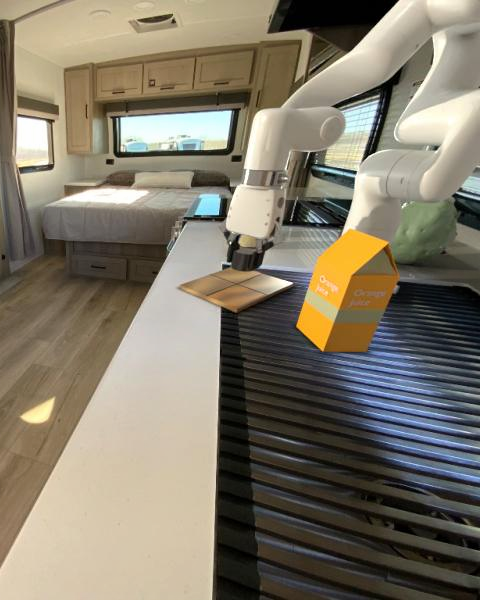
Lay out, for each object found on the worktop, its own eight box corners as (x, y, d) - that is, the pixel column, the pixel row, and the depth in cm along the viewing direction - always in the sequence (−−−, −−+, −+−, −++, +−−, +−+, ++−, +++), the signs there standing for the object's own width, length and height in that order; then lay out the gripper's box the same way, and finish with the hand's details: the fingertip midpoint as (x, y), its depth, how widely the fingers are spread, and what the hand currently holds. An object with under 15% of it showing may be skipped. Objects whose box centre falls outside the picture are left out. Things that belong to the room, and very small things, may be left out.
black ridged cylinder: (258, 268, 74) (262, 251, 72) (245, 273, 71) (249, 255, 70) (238, 262, 77) (242, 246, 76) (225, 267, 75) (229, 250, 73)
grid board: (292, 286, 84) (293, 282, 83) (236, 312, 72) (237, 308, 72) (235, 268, 96) (236, 265, 95) (179, 288, 84) (179, 284, 84)
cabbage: (365, 264, 97) (393, 194, 88) (373, 250, 109) (398, 186, 100) (440, 278, 87) (479, 200, 78) (439, 260, 99) (473, 191, 90)
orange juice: (334, 326, 66) (372, 228, 58) (367, 352, 58) (416, 242, 50) (294, 326, 67) (326, 228, 58) (322, 351, 59) (362, 242, 50)
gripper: (317, 182, 62) (290, 273, 70) (234, 174, 74) (220, 252, 82) (296, 185, 58) (270, 280, 66) (213, 176, 71) (200, 258, 79)
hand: (242, 264), depth 74 cm, fingers closed on black ridged cylinder, 4 cm apart
